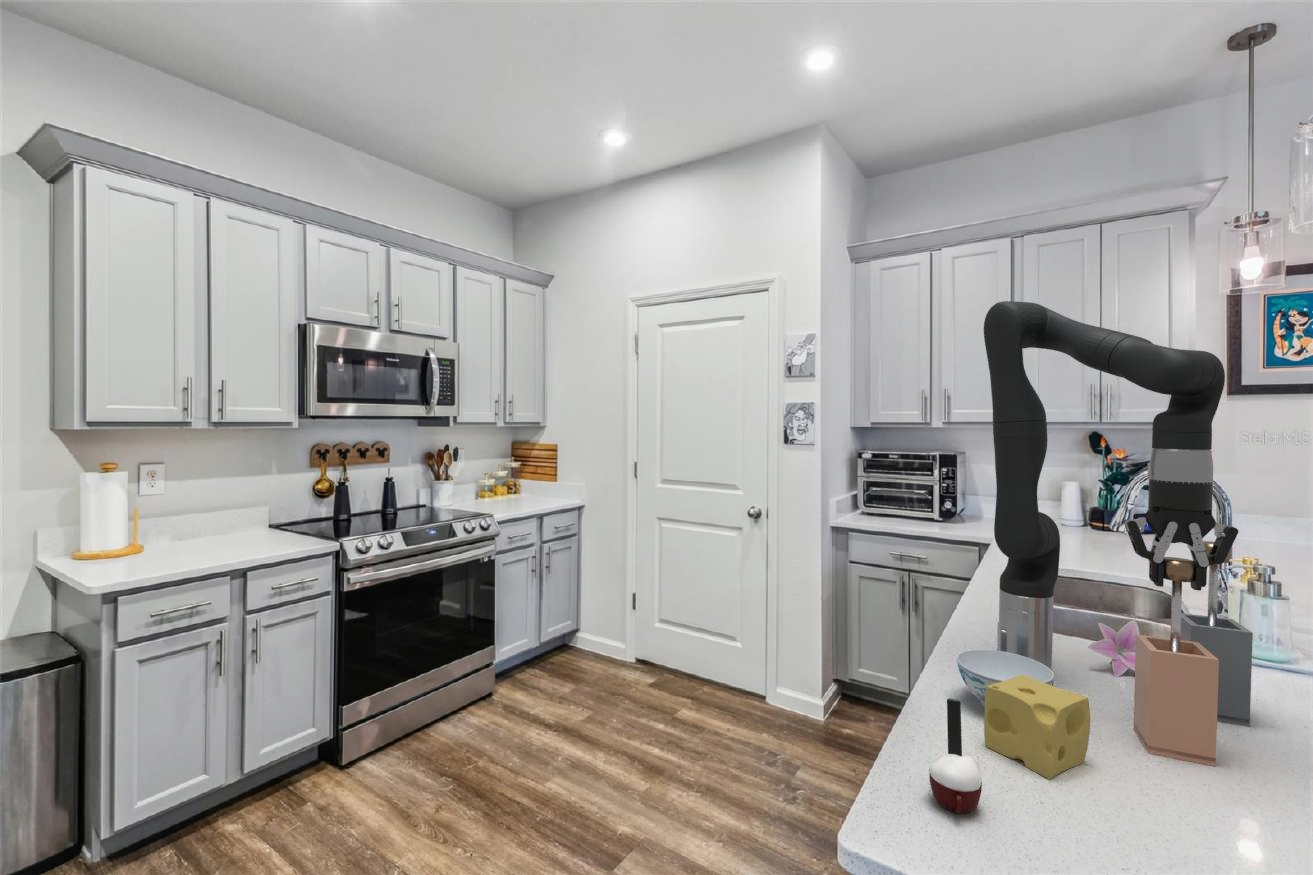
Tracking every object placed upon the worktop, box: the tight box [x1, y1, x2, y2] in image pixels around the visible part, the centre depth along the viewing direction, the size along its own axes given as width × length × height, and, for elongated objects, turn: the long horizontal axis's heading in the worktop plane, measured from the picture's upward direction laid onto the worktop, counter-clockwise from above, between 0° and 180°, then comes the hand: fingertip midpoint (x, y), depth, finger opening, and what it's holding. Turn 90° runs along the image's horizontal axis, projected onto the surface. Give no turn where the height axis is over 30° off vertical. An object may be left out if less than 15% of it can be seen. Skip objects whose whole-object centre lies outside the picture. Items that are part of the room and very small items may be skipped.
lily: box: [1087, 619, 1141, 678], centre depth 124 cm, size 12×12×10 cm
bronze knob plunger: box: [1162, 556, 1195, 653], centre depth 94 cm, size 5×5×16 cm
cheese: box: [983, 675, 1091, 780], centre depth 92 cm, size 10×11×10 cm
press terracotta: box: [1133, 634, 1219, 767], centre depth 94 cm, size 8×8×16 cm
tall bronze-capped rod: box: [1203, 540, 1231, 627], centre depth 106 cm, size 5×5×16 cm
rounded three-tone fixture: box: [928, 697, 983, 814], centre depth 80 cm, size 10×6×12 cm, turn 136°
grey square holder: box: [1180, 612, 1253, 728], centre depth 106 cm, size 8×8×16 cm
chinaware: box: [956, 648, 1055, 709], centre depth 107 cm, size 15×15×8 cm
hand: (1177, 586), depth 94 cm, fingers closed on bronze knob plunger, 4 cm apart
